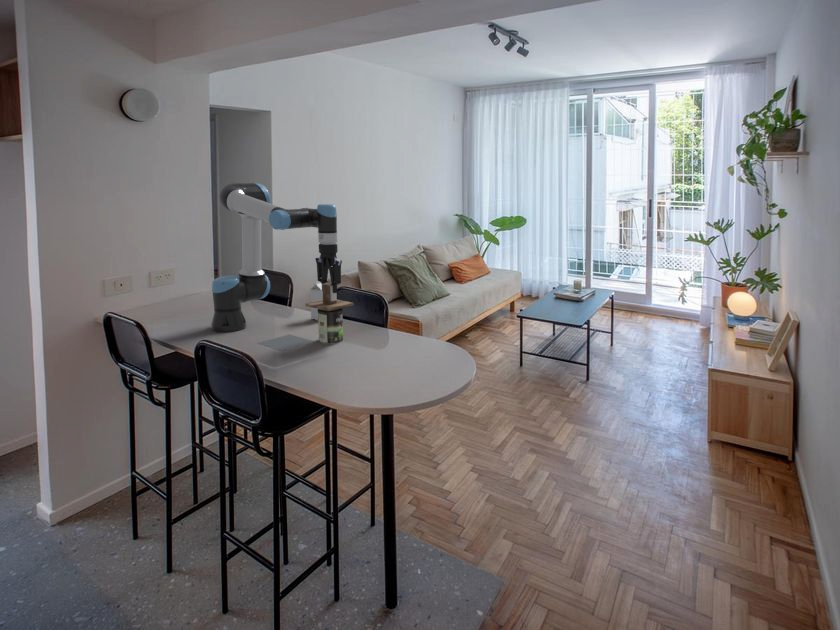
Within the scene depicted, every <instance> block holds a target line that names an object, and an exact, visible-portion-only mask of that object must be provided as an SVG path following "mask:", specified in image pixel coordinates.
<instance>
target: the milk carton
mask: <svg viewBox="0 0 840 630" xmlns="http://www.w3.org/2000/svg"><path fill="white" fill-rule="evenodd" d="M309 291H310V292H309V294H310V296H309V297H310V303H311V302H316V301H320V300H323V292H322V284H321V282H320V281H318V280H317V281H316V282H315V283H314V284H313V286H312V287H311V288H310V290H309ZM310 316H311V317H310V319H315V320H314V321H318V309H317V308H312V307H310Z"/></svg>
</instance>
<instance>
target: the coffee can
mask: <svg viewBox="0 0 840 630" xmlns="http://www.w3.org/2000/svg"><path fill="white" fill-rule="evenodd" d="M343 310H344V309H343V308H340V309H336V310H332V311H325V310H321V309H318V320H317V322H318V341H319V343H321V344H324V345H334V344H339V343H342V342H343V341H344V329H343V328H344V327H343V326H344V324H343V323H344V322H343Z"/></svg>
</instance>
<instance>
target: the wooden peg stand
mask: <svg viewBox="0 0 840 630" xmlns="http://www.w3.org/2000/svg"><path fill="white" fill-rule="evenodd" d="M330 284H331V282H328V283H327V284H322V292H323V300H320V301H316V302H311V301H310V302H308V303H305V307H308V308H311V307H312V308H317V309H321V310H325V311H332V310H336V309H340V308H342V309H343V308H347V307H352V306H354V305H355V303H354V302H351V301H346V300H341V299H337V300H335V301H331V296H330Z"/></svg>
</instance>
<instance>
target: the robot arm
mask: <svg viewBox="0 0 840 630" xmlns="http://www.w3.org/2000/svg"><path fill="white" fill-rule="evenodd" d="M218 199H219V203H220V204H221V206H222V207H223V208H224V209H226V210H228V211H229V212H233V213H237V214H238V215H239V216H240V217H241V266H242V267H241V268H242V269H240V270H239V271H238V275H235V274H234V275H233V274H230V275H222V276H219V277H217V278H215V279H214V280H213V281H212V283H211V284H212V285H211V287H212V288H211V291H212V298H213V299H212V300H213V311H214V312H213V316H212V321H211V330H212V331H214V332H219V333H229V332H236V331H240V330H244V329H246V328H247V320H246V318H245V316H244V314H243V311H242V304H243V303H247V302H254V301H259V300H261V299H265V298H266V297H267V296H268V294H269V293H270V290H271V280H269V277H268V276H267V275H266V273H265V271H264V270H263V269H262V222H265V223H268V224H269V225H270V226H271V228H272V229H274V230H281V231H283V230H284V231H285V230H290V229H291V230H292V229H304V228H317V230H318V231H317V233H318V234H317V235H318V236H317V237H318V238H317V239H318V254H320V255H319V257H315V262H316V274H317V276H316V277H317V282H318V281H320V282H321V284H327V283H329V281H328V277H330V283H331V284H330V296H331V301H335V300H338V299H337V297H338V296H337V295H338V294H337V293H338V285H340V284H342V263H343V260H341V259H338V257H337V253H338V250H339V249H338V248H339V247H338V244H337V243H338V221H337V220H338V218H337V217H338V214H337V207H336V205H335V204H331V203H330V204H329V203H328V204H327V203H324V204H323V203H321V204H317V208H309V207H301V208H295V209H294V208H293V209H289V208H288V209H286V208H283V207H280V206H278V205H275V204H273V203H271V196H270V192H269V190H268V189H267V187H266V186H265V185H263V184H262V183H257V182H256V183H255V182H238V183H236V182H232V183H227V184H226V185H224V186H223V187H222V188H221V189H220V192H219V195H218Z"/></svg>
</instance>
